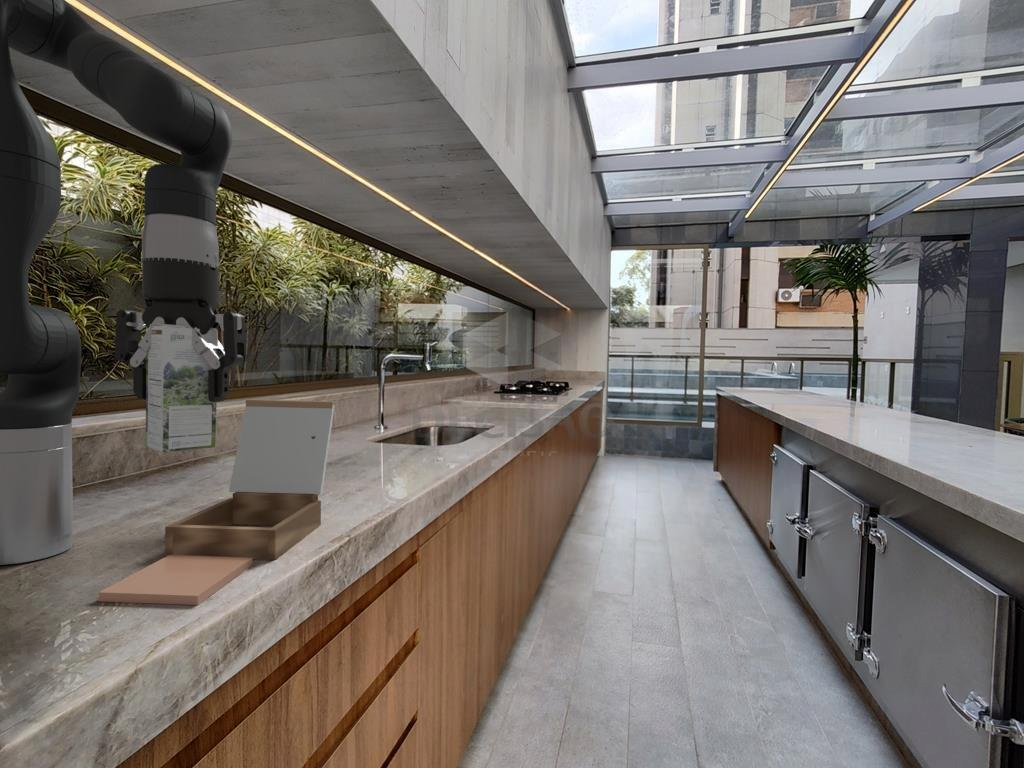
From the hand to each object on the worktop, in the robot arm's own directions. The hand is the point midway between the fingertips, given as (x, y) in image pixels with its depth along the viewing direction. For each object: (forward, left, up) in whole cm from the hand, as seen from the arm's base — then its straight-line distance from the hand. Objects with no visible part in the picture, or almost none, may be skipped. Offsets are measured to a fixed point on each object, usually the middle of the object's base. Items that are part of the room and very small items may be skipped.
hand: (181, 400), depth 60 cm
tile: (0, 0, -22) cm, 22 cm away
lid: (0, +25, -17) cm, 30 cm away
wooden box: (0, +17, -22) cm, 27 cm away
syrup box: (0, 0, -6) cm, 6 cm away
